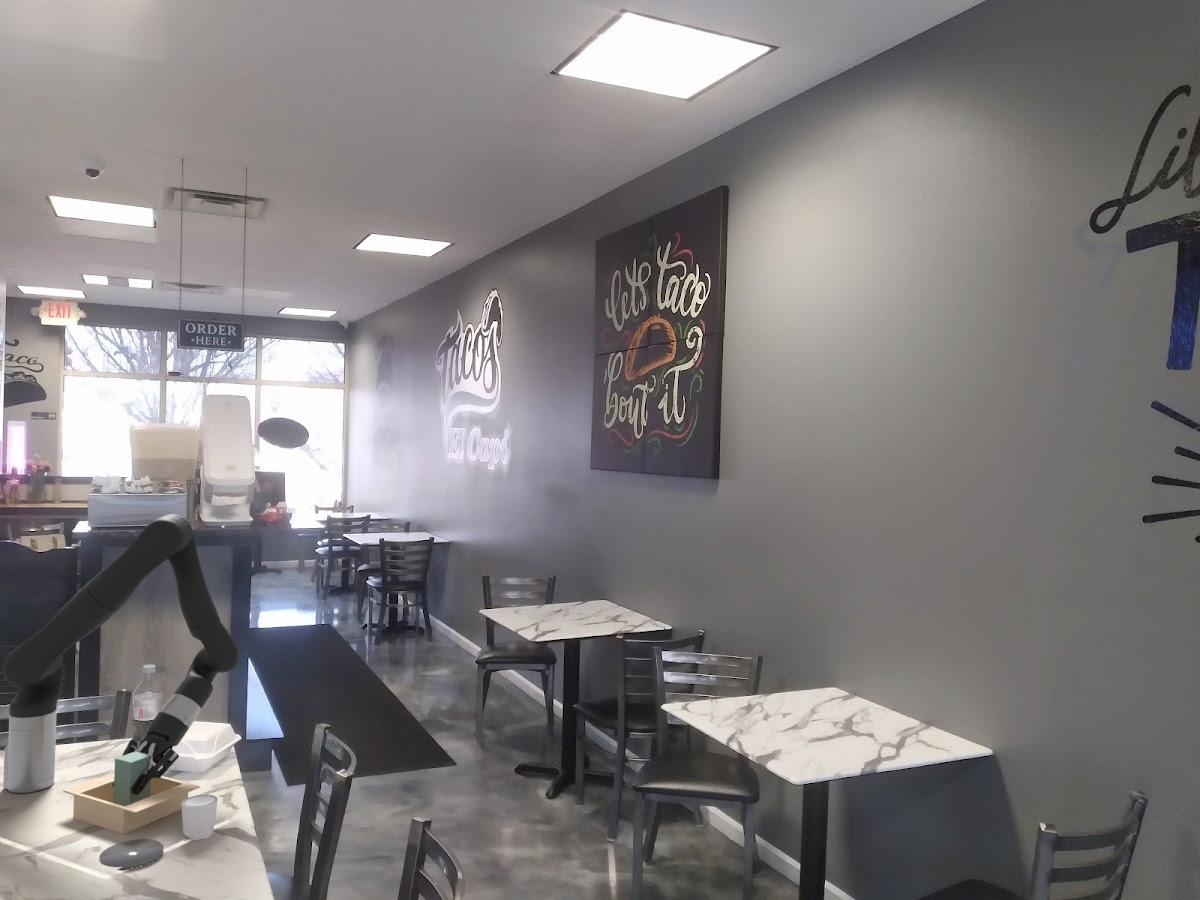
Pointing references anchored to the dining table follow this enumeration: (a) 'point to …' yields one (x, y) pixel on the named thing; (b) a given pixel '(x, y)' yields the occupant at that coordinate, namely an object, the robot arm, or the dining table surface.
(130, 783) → the box
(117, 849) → the slate plate
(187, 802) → the white cup
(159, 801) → the carton
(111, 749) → the dining table surface
